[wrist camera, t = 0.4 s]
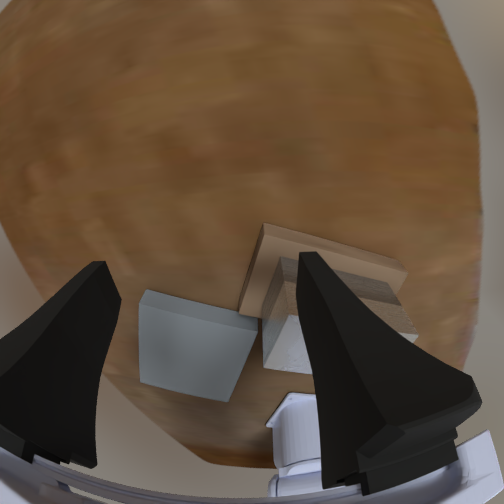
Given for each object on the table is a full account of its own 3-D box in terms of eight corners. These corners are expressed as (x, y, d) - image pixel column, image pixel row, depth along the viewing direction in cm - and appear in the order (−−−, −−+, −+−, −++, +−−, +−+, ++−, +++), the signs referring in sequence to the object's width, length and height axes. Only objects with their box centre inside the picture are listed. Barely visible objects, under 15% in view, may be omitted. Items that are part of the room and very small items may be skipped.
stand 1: (229, 388, 30) (227, 402, 28) (144, 368, 29) (140, 381, 27) (257, 315, 24) (257, 331, 23) (146, 289, 23) (139, 303, 21)
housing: (362, 324, 22) (383, 378, 17) (261, 305, 21) (263, 367, 16) (387, 282, 20) (418, 335, 15) (280, 255, 19) (289, 314, 14)
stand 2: (363, 322, 25) (369, 336, 23) (239, 298, 23) (238, 313, 22) (398, 260, 22) (408, 273, 20) (263, 222, 20) (264, 234, 18)
